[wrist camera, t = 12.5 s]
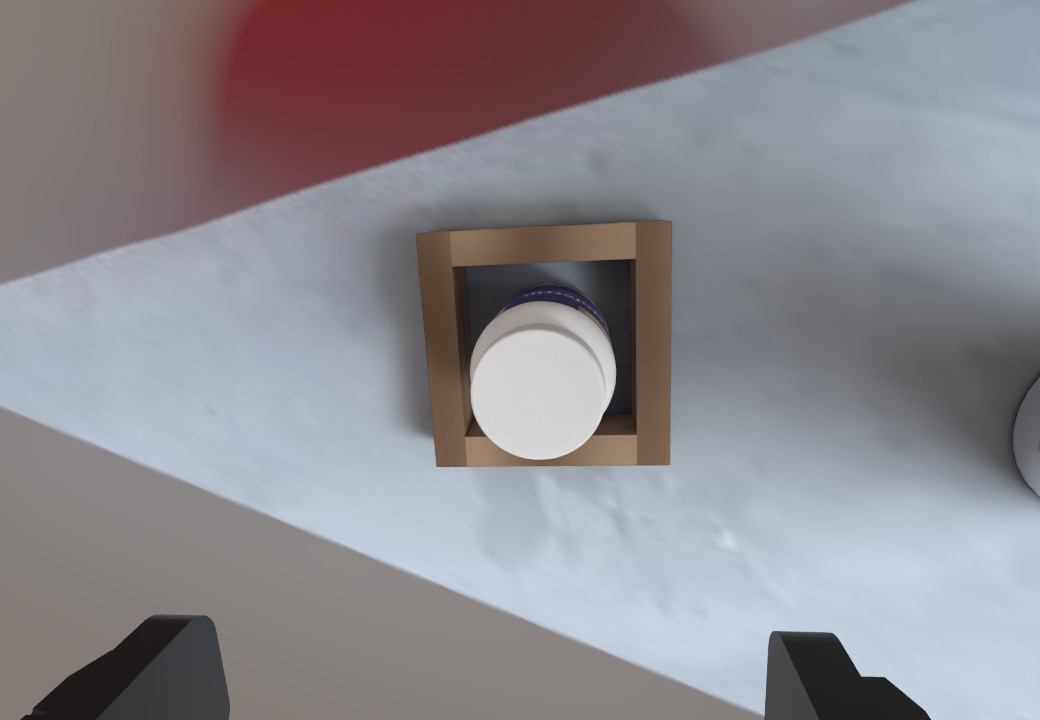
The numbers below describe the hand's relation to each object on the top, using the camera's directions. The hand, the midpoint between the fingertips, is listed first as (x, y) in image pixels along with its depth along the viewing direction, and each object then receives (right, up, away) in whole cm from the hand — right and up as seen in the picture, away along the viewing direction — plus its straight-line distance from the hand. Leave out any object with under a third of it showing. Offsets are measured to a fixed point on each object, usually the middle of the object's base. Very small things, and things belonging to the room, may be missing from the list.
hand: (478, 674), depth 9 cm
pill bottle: (+2, +6, +22) cm, 23 cm away
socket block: (+2, +6, +21) cm, 22 cm away
